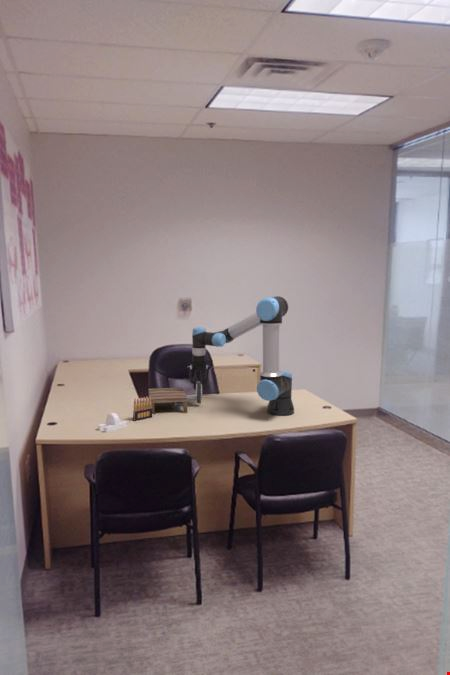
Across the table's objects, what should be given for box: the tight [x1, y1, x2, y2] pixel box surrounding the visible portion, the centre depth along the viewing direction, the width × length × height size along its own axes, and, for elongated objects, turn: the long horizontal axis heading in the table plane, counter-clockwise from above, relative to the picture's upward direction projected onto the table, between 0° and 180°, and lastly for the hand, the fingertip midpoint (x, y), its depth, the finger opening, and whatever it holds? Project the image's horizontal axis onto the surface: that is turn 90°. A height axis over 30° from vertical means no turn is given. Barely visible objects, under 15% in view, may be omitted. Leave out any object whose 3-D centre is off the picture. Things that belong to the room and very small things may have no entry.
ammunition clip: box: [132, 395, 153, 422], centre depth 265 cm, size 11×2×12 cm, turn 129°
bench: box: [148, 387, 188, 415], centre depth 286 cm, size 24×20×8 cm
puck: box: [172, 404, 182, 409], centre depth 288 cm, size 5×5×1 cm
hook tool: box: [173, 380, 202, 405], centre depth 288 cm, size 7×15×12 cm, turn 101°
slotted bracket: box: [97, 412, 128, 434], centre depth 250 cm, size 13×7×8 cm, turn 140°
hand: (198, 394), depth 290 cm, fingers closed on hook tool, 2 cm apart
